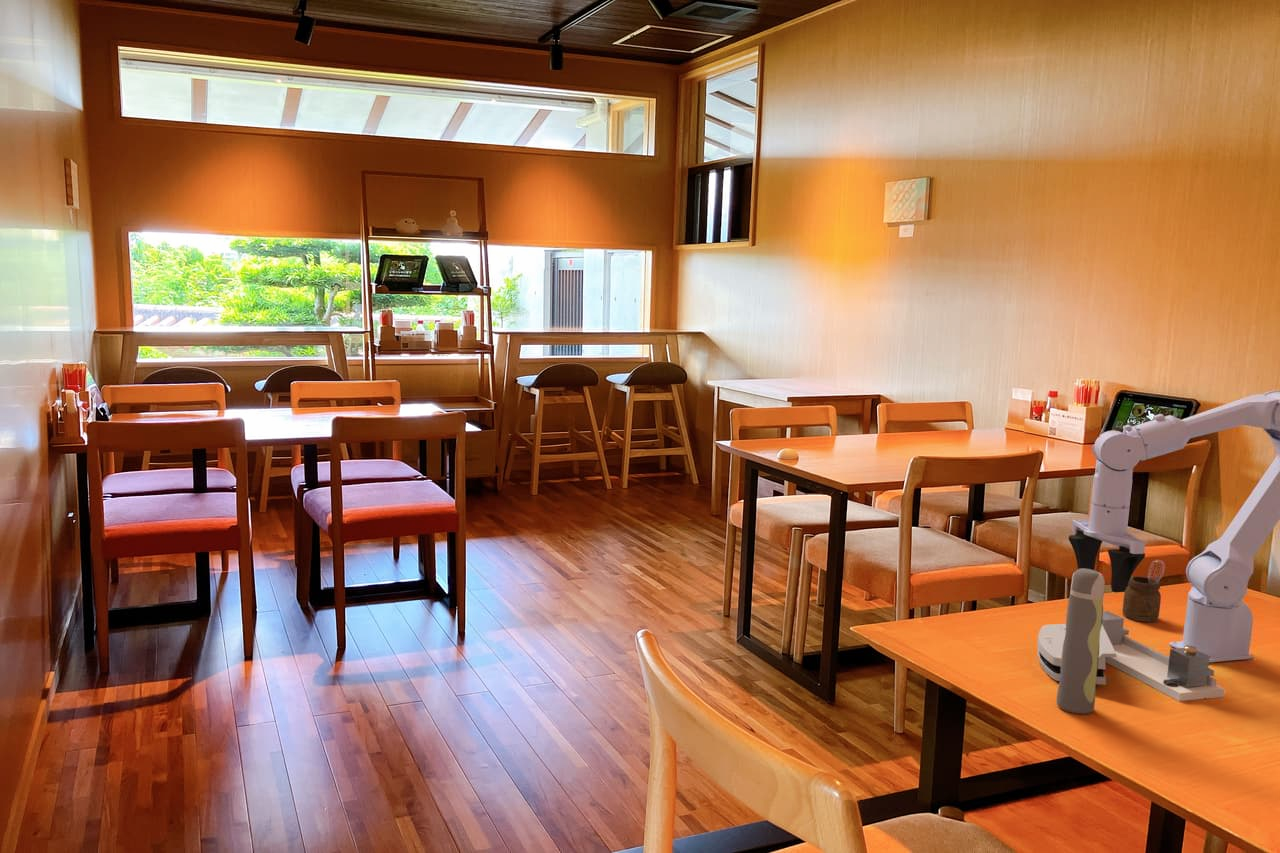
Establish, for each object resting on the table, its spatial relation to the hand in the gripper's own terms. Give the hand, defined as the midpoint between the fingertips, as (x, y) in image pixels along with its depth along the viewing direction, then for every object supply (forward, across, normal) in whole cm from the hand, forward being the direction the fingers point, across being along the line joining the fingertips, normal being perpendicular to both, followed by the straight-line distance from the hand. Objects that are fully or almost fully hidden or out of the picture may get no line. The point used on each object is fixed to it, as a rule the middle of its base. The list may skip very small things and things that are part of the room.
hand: (1101, 584), depth 164 cm
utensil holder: (+10, -9, +17) cm, 22 cm away
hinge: (+8, +11, -9) cm, 16 cm away
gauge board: (+10, +12, -1) cm, 16 cm away
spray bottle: (+10, +22, -22) cm, 33 cm away
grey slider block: (+8, +20, -1) cm, 22 cm away
